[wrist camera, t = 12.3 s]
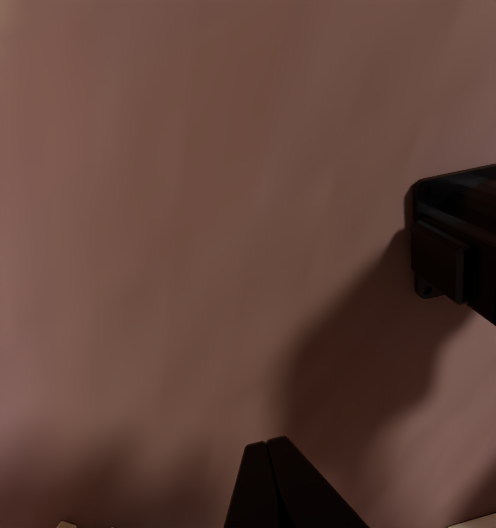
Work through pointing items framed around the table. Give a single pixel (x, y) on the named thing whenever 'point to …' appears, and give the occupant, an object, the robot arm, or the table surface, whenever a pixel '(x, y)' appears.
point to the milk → (478, 522)
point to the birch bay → (65, 525)
